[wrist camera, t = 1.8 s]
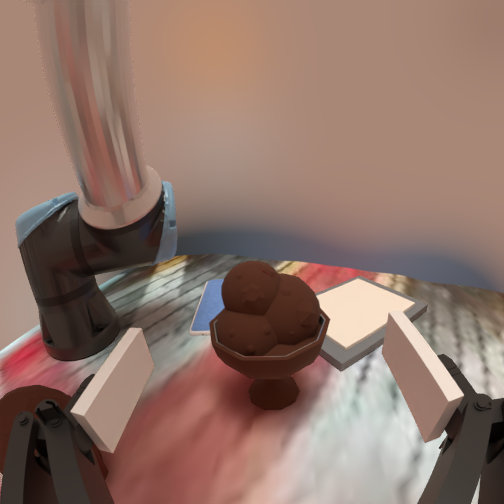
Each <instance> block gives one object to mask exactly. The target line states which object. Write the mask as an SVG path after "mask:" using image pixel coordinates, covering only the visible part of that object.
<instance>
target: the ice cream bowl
mask: <svg viewBox="0 0 504 504" xmlns="http://www.w3.org/2000/svg"><path fill="white" fill-rule="evenodd" d="M221 296H222V300H223V304H224V307H225V308H224V309H223V310H222V311H221V312H220V313H219V314H218V315H217V316H216V317H215V318H214V319H212V320H211V321H210V322H209V327H210V335H211V342H212V346H213V348H214V350H215V352H216V354H217V356H218V357H219V358H220V359H221V360H222V361H223V362H224V363H225V364H226V365H228V366H230V367H231V368H233V369H235V370H237V371H238V372H240V373H242V374H244V375H246V376H247V377H249V378H254V379H255V381H254V383H253V384H252V386H251V387H250V389H249V394H250V398H251V401H252V403H254V404H255V405H257V406H259V407H261V408H262V409H264V410H278V409H283V408H285V407H287V406H288V405H290V404H292V403H294V402H295V400H296V398H297V396H298V393H299V389H298V387H297V385H296V383H295V381H294V379H293V378H291V377H289V375H291V374H293V373H295V372H297V371H299V370H300V369H302V368H304V367H306V366H308V365H310V364H311V363H313V362H314V361H315V359H316V358H317V356H318V355H319V353H320V350H321V347H322V345H323V342H324V339H325V336H326V333H327V330H328V326H329V322H330V318H329V317H328V316H327V315H326V313H325V312H324V311H323V310H322V309H321V308H320V303H319V300H318V298H317V297H316V295H315V292H314V291H313V290H312V289H311V288H310V287H309V286H308V285H307V284H306V283H305V282H304V281H302V280H301V279H300V278H299V277H296V276H292V275H288V274H283V273H282V274H278V273H277V272H276V270H275V269H274V268H273V267H271V266H270V265H268V264H267V263H264V262H260V261H247V262H243V263H240V264H238V265H237V266H235V267H234V268H232V269H231V270H230V271H229V273H228V274H227V275H226V277H225V278H224V281H223V283H222V286H221Z"/></svg>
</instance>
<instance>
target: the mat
mask: <svg viewBox="0 0 504 504" xmlns="http://www.w3.org/2000/svg"><path fill="white" fill-rule="evenodd" d="M356 279H361V280H363V281H365V282H368V283H370V284H372V285H375V286H377V287H379V288H382V289H384V290H387V291H389V292H391V293H394V294H396V295H398V296H401V297H403V298H405V299H408V300H410V301H412V302H414V303H415V306H413V307H412V308H411V309H409V310H408V311H406V312H405V313H404V314H405V315H406V317H407V318H408V319H409V320H410V322H411V323H412V322H413V321H414V320H415V319H417V318H418V317H419V316H420V315H422V314H423V313H424V312H425V311H426V310H427V305H428V304H426V303H424V302H421V301H419V300H417V299H414V298H412V297H410V296H407V295H405V294H402V293H400V292H398V291H395V290H393V289H390V288H388V287H386V286H383V285H381V284H378V283H376V282H374V281H371V280H369V279H366V278H364V277H361V276H357V277H355V278H352V279H350V280H348V281H345V282H343V283H340V284H338V285H335V286H333V287H331V288H328V289H326V290H323V291H321V292H318V293H316V294H315V295H316V296H317V295H320V294H322V293H325V292H327V291H330V290H332V289H334V288H337V287H339V286H342V285H344V284H346V283H349V282H351V281H353V280H356ZM386 326H387V325H386ZM386 326H385V327H383V328H382V329H380V330H379V331H377V332H376V333H374V334H372V335H371V336H369V337H368V338H366V339H365V340H363V341H361V342H360V343H358V344H356V345H355V346H353V347H351V348H350V349H348V350H346V351H345V350H344V349H342V348H341V347H339V346H338V345H337V344H335V343H334V342H332V341H331V340H329V339H328V338H326V337H325V339H324V342H323V345H322V347H321V350H320V353H319V355H321V356H322V357H323V358H324V359H326V360H327V361H328V362H330V363H331V364H332V365H334V366H335V367H336V368H337V369H339V370H340V371H342V370H344V369H346V368H347V367H349V366H350V365H352V364H354V363H355V362H357V361H358V360H360V359H361V358H363V357H364V356H366V355H367V354H369V353H370V352H372V351H373V350H375V349H376V348H378V347H379V346H381V345H382V344H383V343H384V338H385V332H386Z"/></svg>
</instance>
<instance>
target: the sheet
mask: <svg viewBox="0 0 504 504" xmlns="http://www.w3.org/2000/svg"><path fill="white" fill-rule="evenodd" d="M316 297H317V298H318V300H319V303H320V308H321V309H322V310H323V311H324V312H325V313H326V315H327V316H328V317H329V318H330V322H329V326H328V330H327V333H326V336H325V337H326V338H328V339H329V340H331V341H332V342H334V343H335V344H337V345H338V346H339V347H341V348H342V349H344V350H345V351H346V350H348V349H350V348H351V347H353V346H355V345H356V344H358V343H360V342H361V341H363V340H365V339H366V338H368V337H369V336H371V335H372V334H374V333H376V332H377V331H379V330H380V329H382V328H383V327H385V326H386V325H387V320H388V313H389V312H392V311H398V310H402V312H403V313H405V312H406V311H408V310H409V309H411V308H412V307H413V306H415V303H414V302H412V301H410V300H408V299H405V298H403V297H401V296H398V295H396V294H394V293H391V292H389V291H387V290H384V289H382V288H379V287H377V286H375V285H372V284H370V283H368V282H365V281H363V280H361V279H356V280H353V281H351V282H349V283H346V284H344V285H342V286H339V287H337V288H334V289H332V290H330V291H327V292H325V293H322V294H320V295H317V296H316Z"/></svg>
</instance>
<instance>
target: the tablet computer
mask: <svg viewBox="0 0 504 504" xmlns="http://www.w3.org/2000/svg"><path fill="white" fill-rule="evenodd" d="M223 281H224V279H219V280H209V281H207V282H206V285H205V288H204V291H203V293H202V296H201V299H200V302H199V304H198V307H197V310H196V313H195V315H194V318H193V321H192V324H191V327H190V330H189V334H190V335H193V336H199V335H210V327H209V322H210V321H211V320H212V319H214V318H215V317H216V316H217V315H218V314H219V313H220V312H221V311H222V310H223V309H224V308H225V307H224V304H223V300H222V296H221V286H222V283H223Z"/></svg>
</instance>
